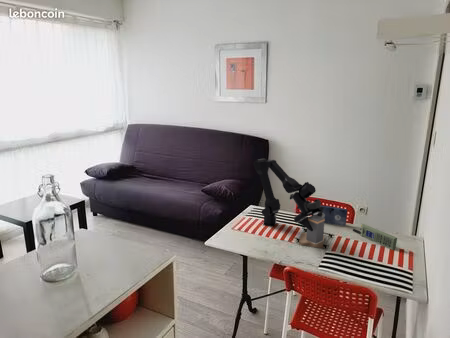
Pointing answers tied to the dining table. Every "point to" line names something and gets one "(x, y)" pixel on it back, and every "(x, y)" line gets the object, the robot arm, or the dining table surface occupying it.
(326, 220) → the vhs cassette tape
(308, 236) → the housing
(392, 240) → the handheld radio
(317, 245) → the board
